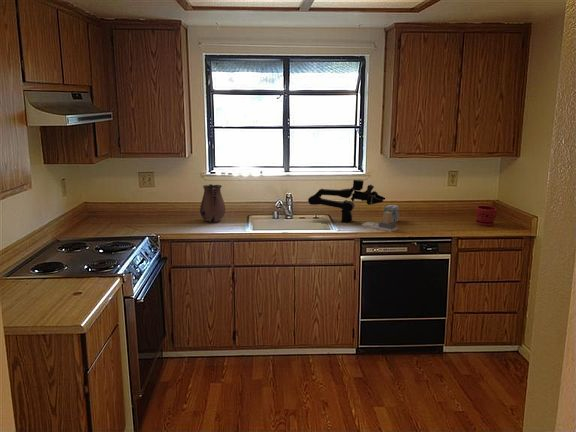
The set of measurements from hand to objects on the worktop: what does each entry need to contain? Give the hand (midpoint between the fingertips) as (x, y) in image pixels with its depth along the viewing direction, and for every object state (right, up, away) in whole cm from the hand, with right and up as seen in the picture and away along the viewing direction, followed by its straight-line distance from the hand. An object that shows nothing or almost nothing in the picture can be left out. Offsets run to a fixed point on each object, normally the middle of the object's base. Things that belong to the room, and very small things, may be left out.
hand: (384, 199), depth 333 cm
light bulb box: (+7, -15, +11) cm, 20 cm away
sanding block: (0, -18, -11) cm, 21 cm away
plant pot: (+68, -17, +1) cm, 70 cm away
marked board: (-5, -19, -7) cm, 20 cm away
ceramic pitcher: (-116, -15, +13) cm, 118 cm away
